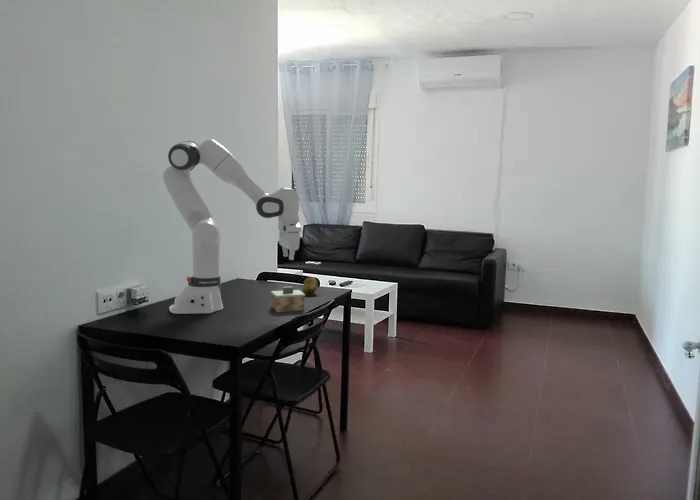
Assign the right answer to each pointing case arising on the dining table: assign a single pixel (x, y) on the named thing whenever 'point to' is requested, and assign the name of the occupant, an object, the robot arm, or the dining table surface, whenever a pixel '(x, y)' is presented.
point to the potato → (310, 286)
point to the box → (287, 303)
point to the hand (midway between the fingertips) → (288, 258)
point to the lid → (287, 292)
